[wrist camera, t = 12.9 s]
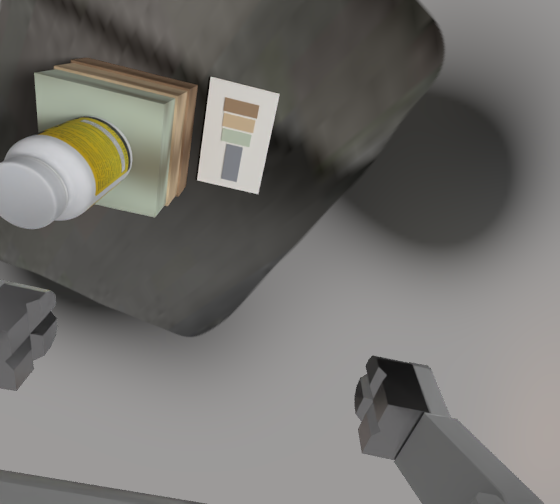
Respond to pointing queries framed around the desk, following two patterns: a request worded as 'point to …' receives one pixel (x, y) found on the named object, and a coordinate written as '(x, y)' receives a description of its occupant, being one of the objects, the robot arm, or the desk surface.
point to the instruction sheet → (236, 135)
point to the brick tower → (127, 124)
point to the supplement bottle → (62, 171)
